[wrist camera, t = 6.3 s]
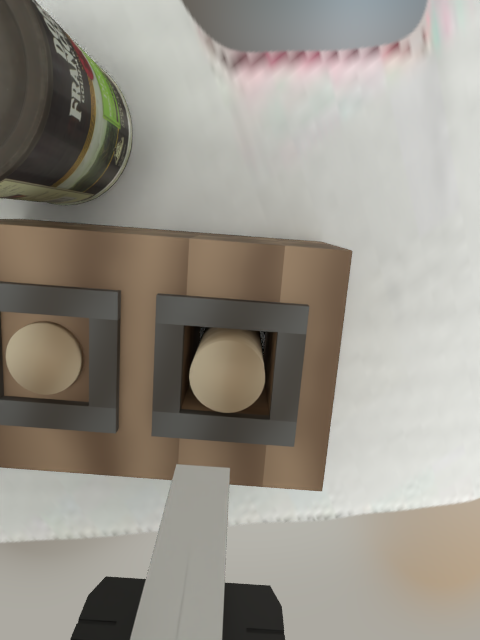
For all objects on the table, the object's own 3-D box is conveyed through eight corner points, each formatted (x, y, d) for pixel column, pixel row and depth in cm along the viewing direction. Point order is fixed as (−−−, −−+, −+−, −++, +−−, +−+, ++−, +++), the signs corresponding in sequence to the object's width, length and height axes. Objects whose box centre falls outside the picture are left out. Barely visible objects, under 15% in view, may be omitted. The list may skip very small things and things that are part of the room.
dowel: (203, 359, 33) (187, 410, 24) (206, 305, 32) (191, 337, 24) (257, 363, 33) (261, 415, 24) (262, 310, 32) (268, 343, 24)
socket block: (27, 398, 36) (-60, 468, 26) (22, 219, 33) (-79, 218, 23) (301, 418, 36) (323, 497, 26) (321, 241, 33) (354, 251, 23)
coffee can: (88, 21, 31) (-42, -141, 17) (157, 167, 33) (92, 129, 19) (-42, 92, 32) (-263, -7, 18) (33, 229, 34) (-115, 235, 20)
